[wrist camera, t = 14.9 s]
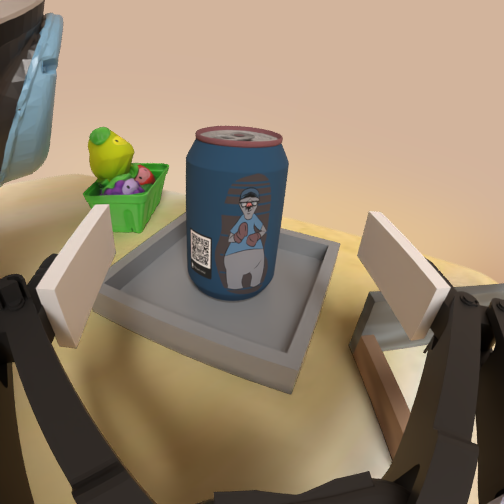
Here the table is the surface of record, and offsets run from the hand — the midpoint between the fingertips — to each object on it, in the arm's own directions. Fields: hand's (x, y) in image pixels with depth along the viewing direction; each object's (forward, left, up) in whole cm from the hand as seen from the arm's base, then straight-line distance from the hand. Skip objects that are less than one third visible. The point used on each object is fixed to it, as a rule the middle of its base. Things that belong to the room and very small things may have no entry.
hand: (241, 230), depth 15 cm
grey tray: (-4, +7, -9) cm, 12 cm away
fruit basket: (-21, +14, -10) cm, 26 cm away
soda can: (-3, +7, -9) cm, 11 cm away
